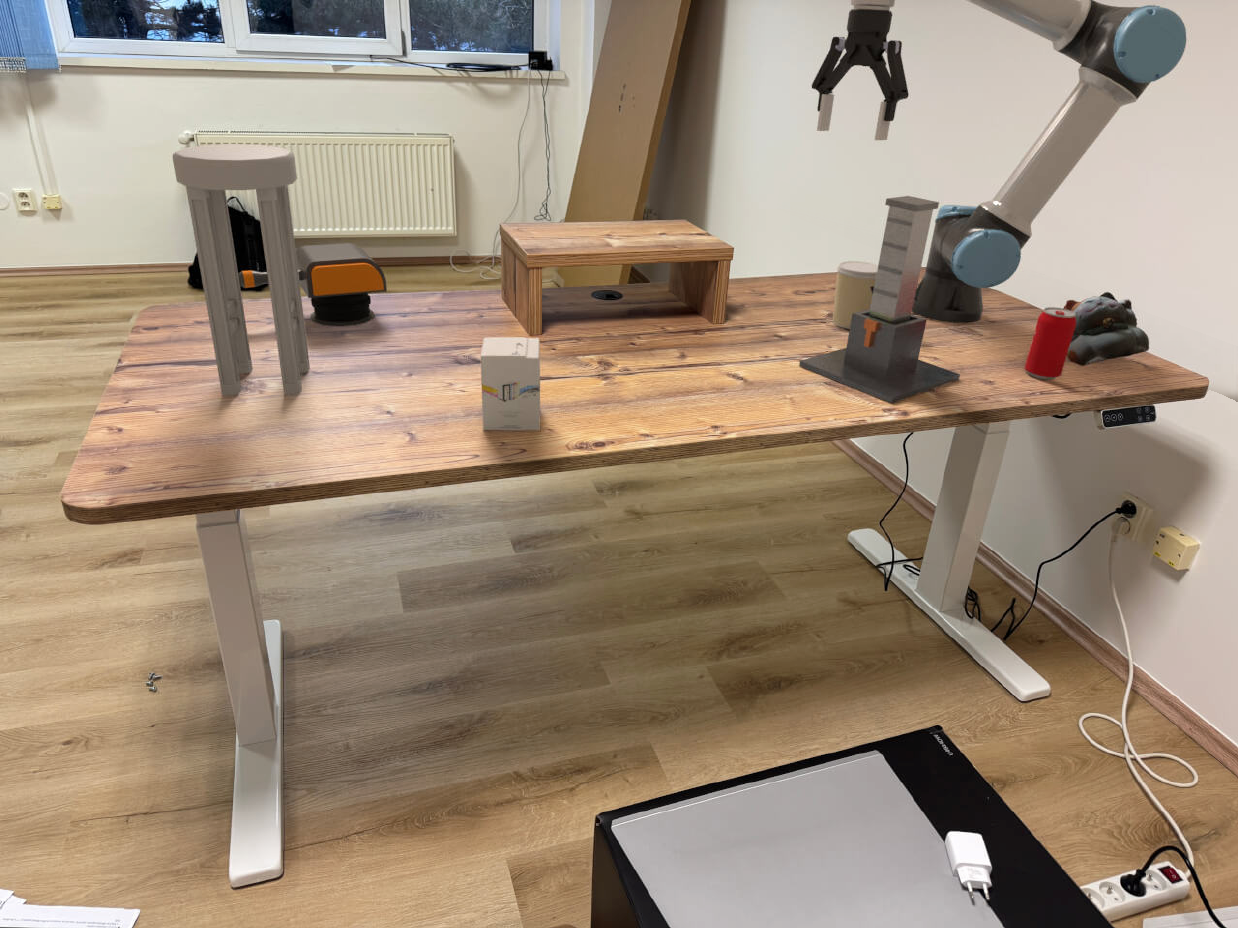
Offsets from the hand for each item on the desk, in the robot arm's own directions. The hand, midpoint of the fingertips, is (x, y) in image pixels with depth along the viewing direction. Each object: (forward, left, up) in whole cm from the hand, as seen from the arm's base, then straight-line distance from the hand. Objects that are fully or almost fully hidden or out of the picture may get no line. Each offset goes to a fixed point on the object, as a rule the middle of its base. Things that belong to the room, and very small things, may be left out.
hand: (850, 135), depth 164 cm
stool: (+105, -26, -37) cm, 114 cm away
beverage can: (-12, +42, -37) cm, 57 cm away
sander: (+87, -52, -37) cm, 108 cm away
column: (+14, +25, -28) cm, 40 cm away
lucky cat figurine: (-30, +43, -37) cm, 64 cm away
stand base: (+14, +25, -37) cm, 47 cm away
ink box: (+80, +7, -37) cm, 88 cm away
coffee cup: (-5, +4, -37) cm, 37 cm away
